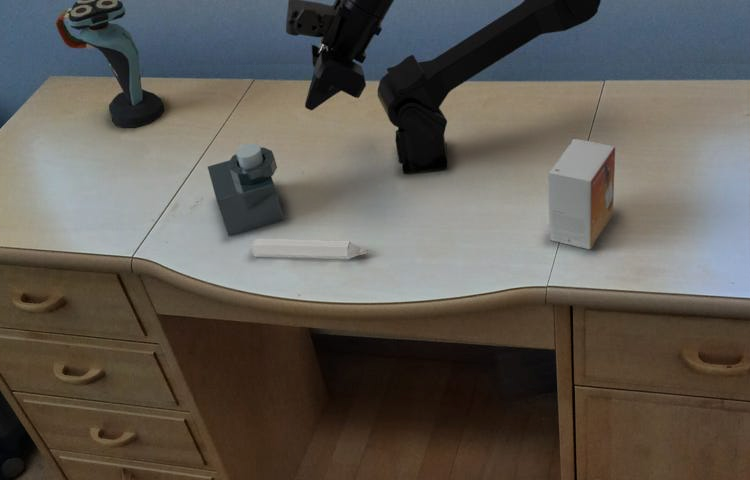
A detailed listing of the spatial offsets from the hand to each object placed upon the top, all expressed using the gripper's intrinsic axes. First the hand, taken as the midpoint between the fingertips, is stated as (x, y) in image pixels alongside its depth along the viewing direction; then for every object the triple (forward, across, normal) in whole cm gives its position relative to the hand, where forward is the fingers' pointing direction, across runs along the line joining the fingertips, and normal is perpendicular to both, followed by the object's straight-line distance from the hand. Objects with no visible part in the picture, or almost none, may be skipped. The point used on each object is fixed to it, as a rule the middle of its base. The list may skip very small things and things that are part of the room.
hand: (308, 108), depth 125 cm
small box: (-8, +17, +35) cm, 40 cm away
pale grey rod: (+13, +13, +7) cm, 20 cm away
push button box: (+17, +1, 0) cm, 17 cm away
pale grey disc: (+10, +1, -3) cm, 11 cm away
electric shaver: (+27, -33, -19) cm, 47 cm away
